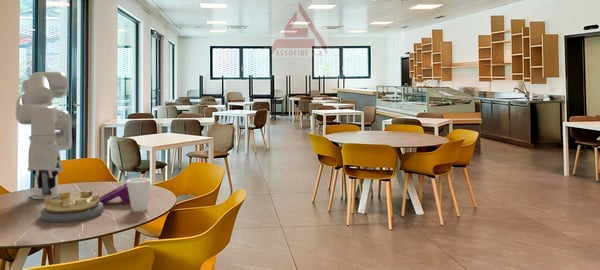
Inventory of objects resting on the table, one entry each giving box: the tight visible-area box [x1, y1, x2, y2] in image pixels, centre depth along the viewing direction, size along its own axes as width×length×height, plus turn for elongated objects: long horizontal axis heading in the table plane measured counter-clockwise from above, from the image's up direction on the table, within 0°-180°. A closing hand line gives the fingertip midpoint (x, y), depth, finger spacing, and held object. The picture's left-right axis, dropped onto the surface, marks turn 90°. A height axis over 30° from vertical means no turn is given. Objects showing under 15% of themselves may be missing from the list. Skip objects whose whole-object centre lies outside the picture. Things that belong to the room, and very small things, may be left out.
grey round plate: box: [40, 202, 104, 224], centre depth 185 cm, size 23×23×3 cm
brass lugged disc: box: [43, 190, 100, 214], centre depth 184 cm, size 20×20×4 cm
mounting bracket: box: [99, 182, 131, 205], centre depth 204 cm, size 10×8×18 cm
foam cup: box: [126, 177, 151, 213], centre depth 191 cm, size 10×9×13 cm
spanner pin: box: [41, 170, 52, 196], centre depth 167 cm, size 3×3×10 cm
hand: (46, 187), depth 167 cm, fingers closed on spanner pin, 3 cm apart
